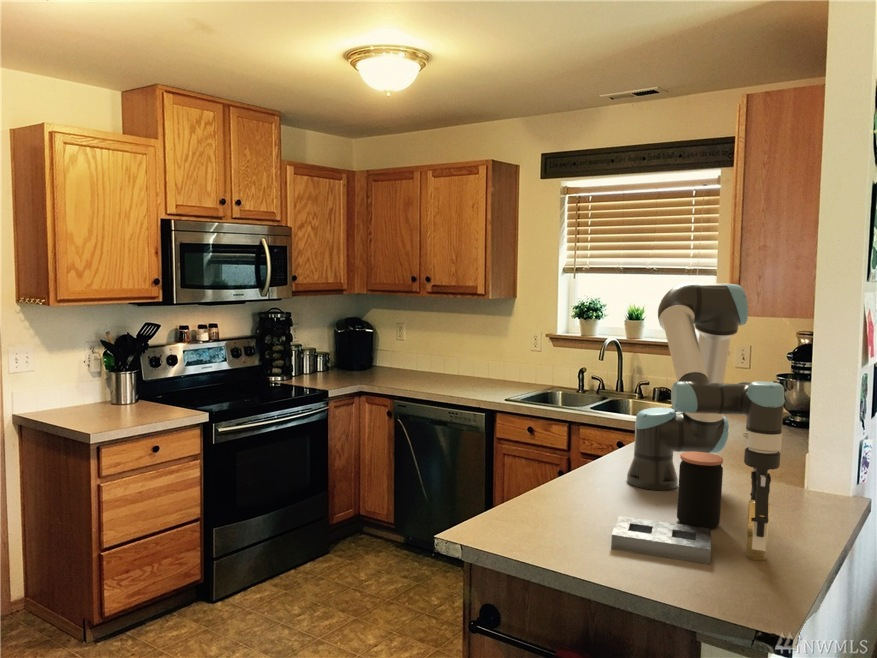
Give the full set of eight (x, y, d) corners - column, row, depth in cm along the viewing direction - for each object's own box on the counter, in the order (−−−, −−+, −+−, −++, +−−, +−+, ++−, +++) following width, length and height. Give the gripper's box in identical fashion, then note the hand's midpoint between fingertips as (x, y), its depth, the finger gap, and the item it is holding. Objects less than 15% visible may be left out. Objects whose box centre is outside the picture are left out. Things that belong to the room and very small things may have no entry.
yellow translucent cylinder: (745, 552, 170) (748, 498, 169) (765, 555, 169) (768, 501, 168) (745, 558, 166) (749, 504, 165) (766, 562, 165) (770, 507, 163)
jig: (618, 529, 183) (618, 515, 183) (710, 542, 176) (710, 528, 175) (611, 548, 170) (611, 534, 170) (710, 564, 163) (710, 549, 162)
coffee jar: (709, 516, 194) (713, 451, 193) (726, 531, 184) (730, 462, 182) (670, 516, 194) (674, 451, 192) (685, 530, 183) (689, 461, 182)
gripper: (742, 436, 178) (737, 520, 180) (747, 460, 155) (741, 556, 157) (775, 439, 175) (770, 524, 177) (785, 464, 152) (779, 561, 154)
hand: (756, 539), depth 167 cm, fingers open, 12 cm apart
